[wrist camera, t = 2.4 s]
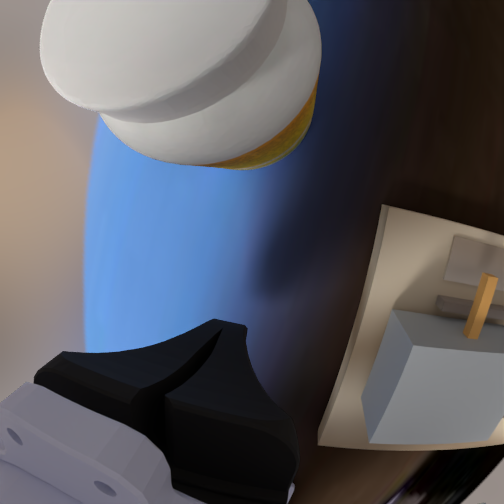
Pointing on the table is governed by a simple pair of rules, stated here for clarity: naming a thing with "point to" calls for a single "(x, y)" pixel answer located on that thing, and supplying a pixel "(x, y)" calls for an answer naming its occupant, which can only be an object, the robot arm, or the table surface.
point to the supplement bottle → (190, 74)
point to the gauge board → (411, 308)
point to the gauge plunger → (437, 377)
